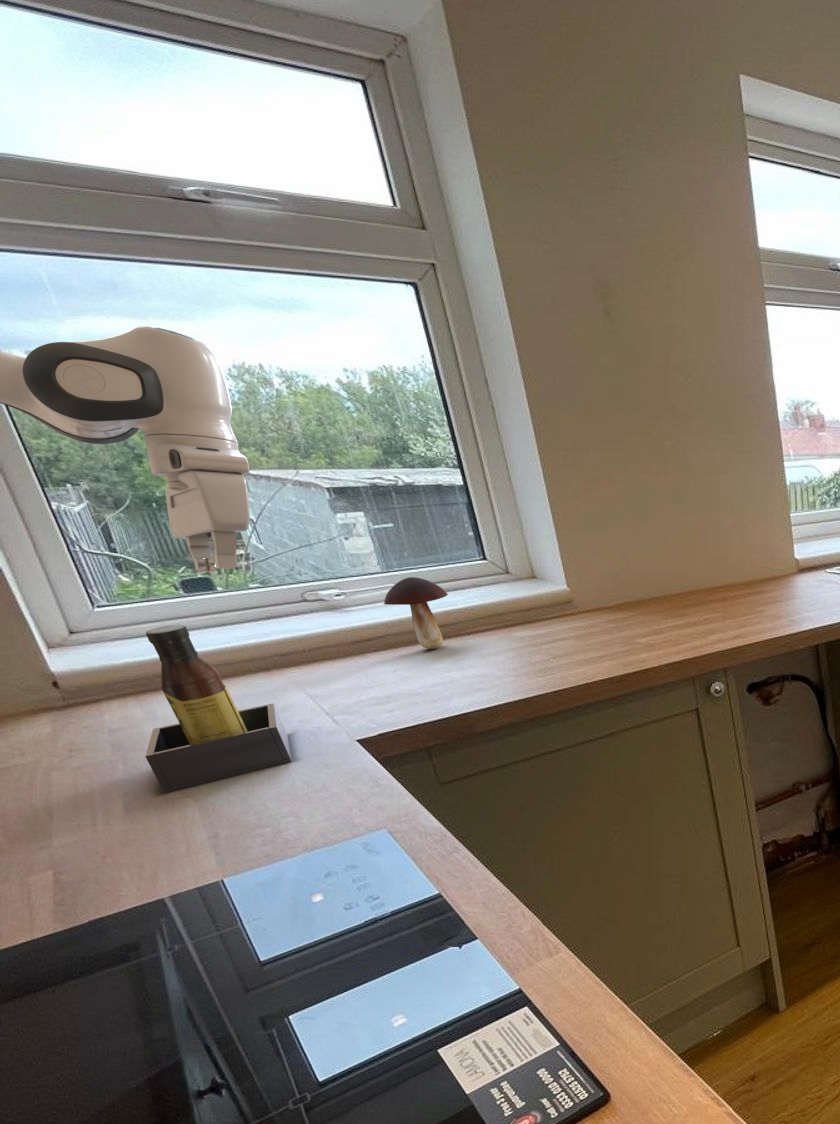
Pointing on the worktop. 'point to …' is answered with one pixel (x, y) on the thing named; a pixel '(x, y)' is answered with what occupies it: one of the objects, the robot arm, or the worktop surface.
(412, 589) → the decorative mushroom
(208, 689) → the sauce bottle
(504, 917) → the worktop surface
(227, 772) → the open rectangular box
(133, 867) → the worktop surface
